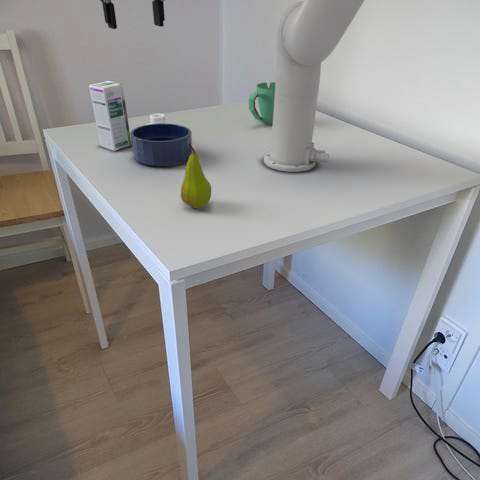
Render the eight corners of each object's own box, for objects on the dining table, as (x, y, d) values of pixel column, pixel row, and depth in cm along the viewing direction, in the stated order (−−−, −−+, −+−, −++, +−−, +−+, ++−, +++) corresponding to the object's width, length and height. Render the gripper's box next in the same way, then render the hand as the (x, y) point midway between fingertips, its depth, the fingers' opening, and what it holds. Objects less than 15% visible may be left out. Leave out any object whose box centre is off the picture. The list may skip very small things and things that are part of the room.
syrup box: (115, 151, 107) (104, 87, 98) (99, 146, 110) (88, 83, 100) (132, 145, 111) (123, 83, 101) (117, 141, 113) (107, 79, 104)
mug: (268, 116, 135) (271, 80, 128) (293, 122, 130) (297, 86, 123) (237, 125, 126) (238, 88, 120) (262, 133, 121) (264, 94, 115)
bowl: (201, 152, 108) (200, 127, 104) (177, 171, 98) (175, 145, 94) (150, 145, 111) (148, 120, 108) (123, 163, 101) (119, 137, 97)
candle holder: (184, 126, 124) (183, 110, 122) (176, 139, 115) (175, 122, 112) (143, 124, 125) (141, 108, 122) (133, 137, 116) (130, 120, 113)
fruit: (216, 210, 83) (216, 147, 76) (186, 215, 81) (182, 151, 74) (206, 197, 88) (204, 136, 80) (177, 201, 86) (172, 140, 78)
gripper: (77, -100, 67) (99, 31, 78) (177, -92, 74) (184, 27, 85) (64, -96, 71) (87, 27, 82) (159, -90, 79) (168, 23, 90)
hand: (136, 27), depth 84 cm, fingers open, 9 cm apart
